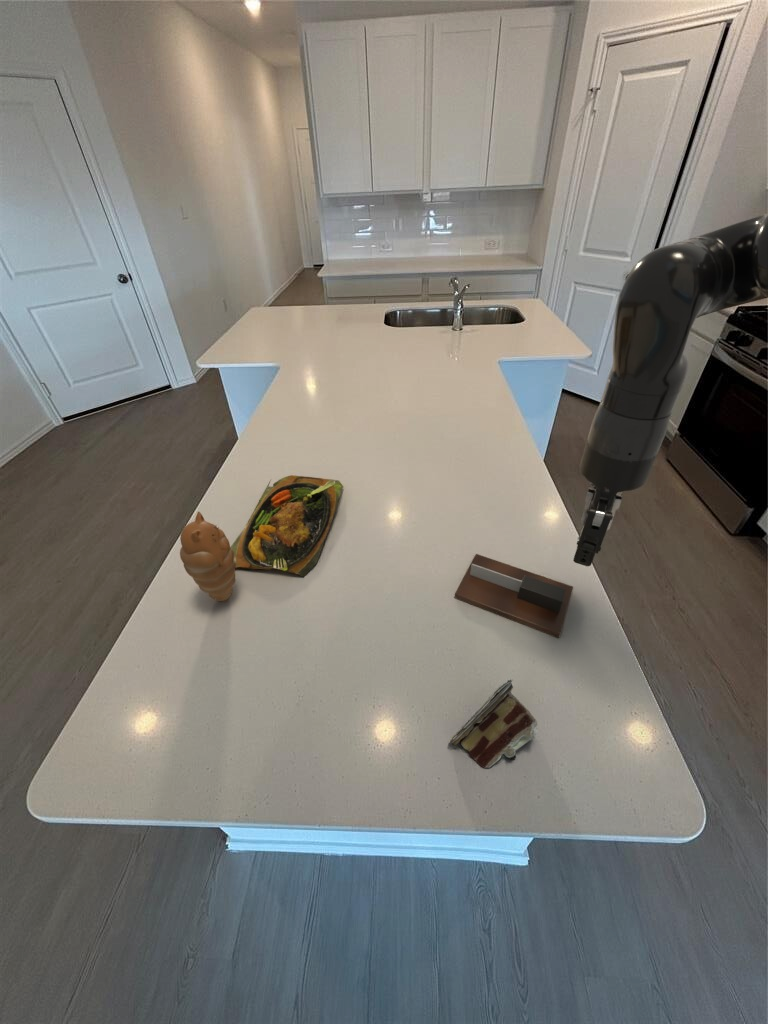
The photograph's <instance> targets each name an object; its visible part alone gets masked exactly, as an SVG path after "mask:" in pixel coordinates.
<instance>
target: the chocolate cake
mask: <svg viewBox="0 0 768 1024" xmlns="http://www.w3.org/2000/svg"><path fill="white" fill-rule="evenodd" d="M513 680H514V678H513V679H512V678H511V679H508V680H507V681H506V682H504V683H502V684H501V685H500V686H499V687H498V688H497V689H496V690H495V691H494V692H493V693H492V694H491V696H489V697H488V699H487V700H486V701H485V702H484V703H483V704H482V706H480V707H479V709H478V710H477V711H475V712H474V714H472V716H470V718H469V719H468V720H467V722H465V724H464V725H463V726H461V728H460V729H459V730H458V731H456V733H455V734H453V736H452V738H451V739H450V740H449V742H448V744H452V745H453V746H455V747H456V746H457V745H458V744H461V746H462V748H463V749H464V750H466V751H468V754H469V756H471V758H473V760H474V761H476V762H477V764H478V765H479V766H480V767H482V768H483V769H484V768H489V769H490V768H491V767H492V766H493V765H495V764H496V763H497V762H498V761H499V760H500V759H501V757H502V755H504V756H505V758H509V760H511V761H514V760H515V759H516V758H517V755H516V753H517V752H516V751H518V750H519V749H520V748H522V747H523V746H524V745H525V744H527V743H529V741H531V740H534V739H535V738H536V735H537V733H536V732H535V731H534V729H536V728H537V726H538V721H537V719H536V718H535V717H534V716H533V715H532V713H531V712H530V711H529V709H527V708H526V707H525V706H524V705H523V703H521V702H520V700H519V699H518V698H517V697H516V696H515V695H514V694H513V693H512V690H513V689H514V686H513V683H512V682H513Z"/></svg>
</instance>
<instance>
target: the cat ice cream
mask: <svg viewBox="0 0 768 1024" xmlns="http://www.w3.org/2000/svg"><path fill="white" fill-rule="evenodd" d="M180 544H181V547H180V550H179V558H180V560H181V562H182V564H183V568H184V570H185V573H187V574H188V576H190V577H191V578H192V580H193V582H195V584H196V585H197V586H198V588H199V589H200V590H201V591H202V592H203V593H206V594H208V596H209V597H210V598H211V599H213V600H215V601H217V602H224V601H226V600H228V599H229V598H230V597H231V595H232V593H233V590H234V585H235V583H236V568H235V565H234V562H233V561H234V553H233V550H232V549H231V548H230V547H231V544H230V541H229V538H228V537H227V535H226V534H225V532H224V531H223V530H222V529H221V528H220V526H218V527H217V525H216V524H214V523H211V522H209V521H206V520H205V518H204V516H203V514H202V513H201V511H197V513H196V516H195V519H194V521H191V522H190V523H187V525H185V526H184V527H183V529H182V530H181V533H180Z"/></svg>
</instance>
